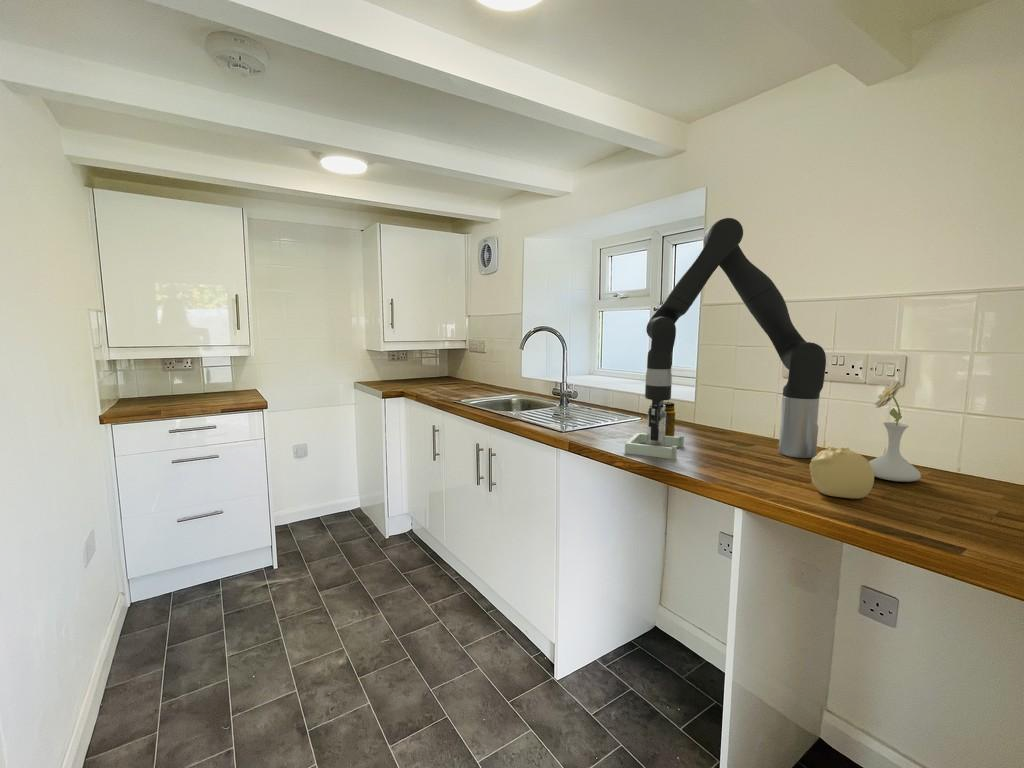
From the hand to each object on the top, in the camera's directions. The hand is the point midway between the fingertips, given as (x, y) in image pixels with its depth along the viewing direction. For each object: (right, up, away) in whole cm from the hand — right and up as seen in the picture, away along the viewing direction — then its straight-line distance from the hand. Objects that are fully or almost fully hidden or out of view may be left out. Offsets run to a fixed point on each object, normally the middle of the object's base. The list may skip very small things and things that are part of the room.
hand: (656, 438), depth 145 cm
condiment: (+8, -2, +18) cm, 19 cm away
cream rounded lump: (+30, -9, -38) cm, 49 cm away
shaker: (0, -2, 0) cm, 2 cm away
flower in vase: (+50, -7, -27) cm, 57 cm away
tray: (0, -4, 0) cm, 4 cm away
